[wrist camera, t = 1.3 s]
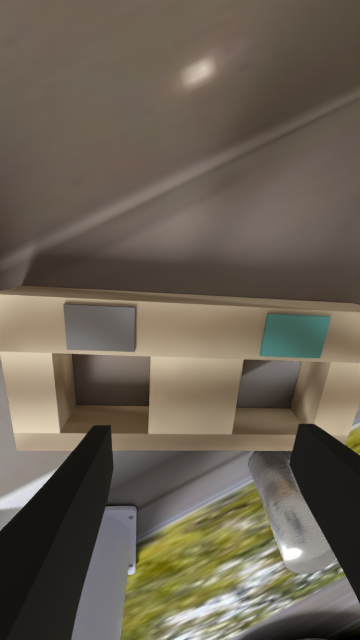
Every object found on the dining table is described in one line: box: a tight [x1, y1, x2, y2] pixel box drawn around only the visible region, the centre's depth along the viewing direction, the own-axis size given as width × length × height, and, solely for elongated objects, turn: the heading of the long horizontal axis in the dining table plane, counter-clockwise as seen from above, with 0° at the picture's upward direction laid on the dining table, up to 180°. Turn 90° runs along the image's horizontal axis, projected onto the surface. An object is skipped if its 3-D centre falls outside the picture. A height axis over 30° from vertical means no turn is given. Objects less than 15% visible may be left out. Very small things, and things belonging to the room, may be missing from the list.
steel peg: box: [248, 451, 336, 574], centre depth 19 cm, size 4×4×7 cm
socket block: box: [0, 285, 360, 451], centre depth 17 cm, size 11×24×3 cm, turn 86°
